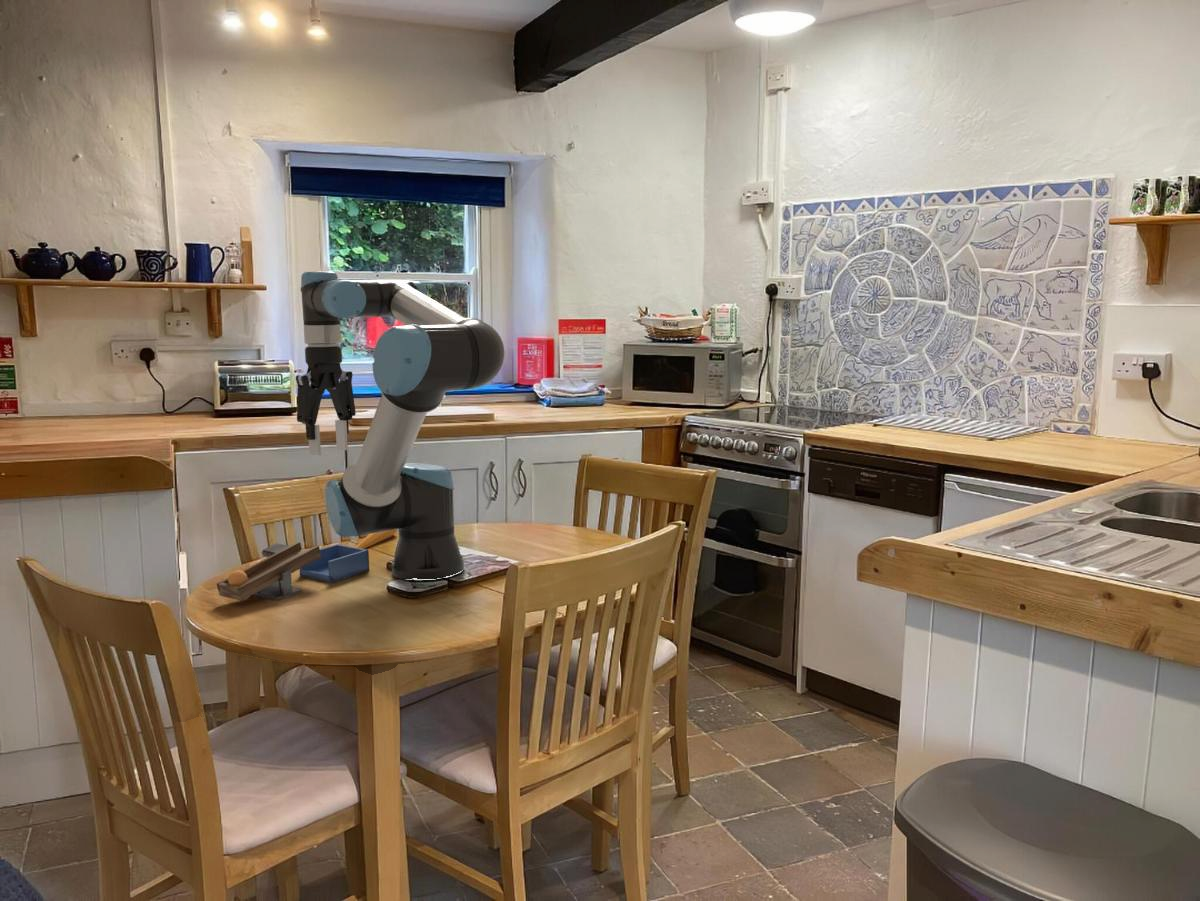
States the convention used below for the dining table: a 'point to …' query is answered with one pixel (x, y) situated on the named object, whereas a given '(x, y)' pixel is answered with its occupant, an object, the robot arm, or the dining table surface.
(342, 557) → the tray
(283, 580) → the stand
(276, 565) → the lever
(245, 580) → the ball
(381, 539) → the carrot
